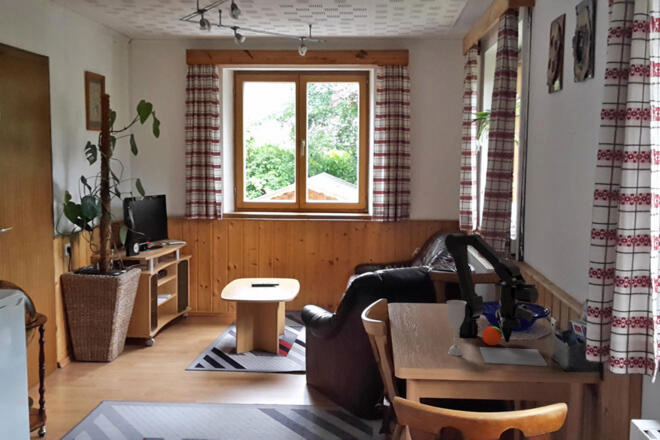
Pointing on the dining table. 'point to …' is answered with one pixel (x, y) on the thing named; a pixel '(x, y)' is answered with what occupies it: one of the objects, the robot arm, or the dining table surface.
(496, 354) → the mat
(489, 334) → the clementine
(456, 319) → the chalice
